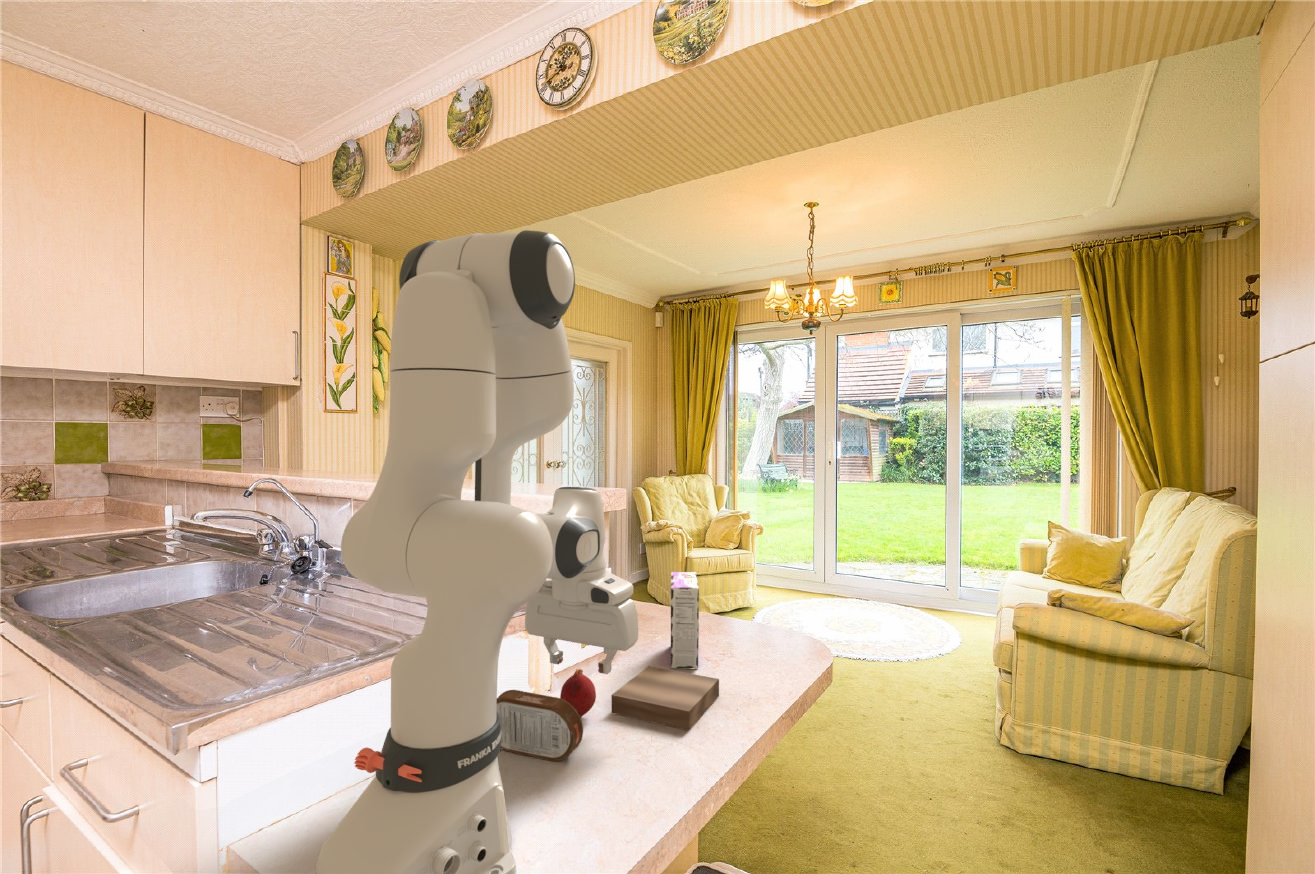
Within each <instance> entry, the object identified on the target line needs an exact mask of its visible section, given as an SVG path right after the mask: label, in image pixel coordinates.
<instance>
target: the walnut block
mask: <svg viewBox="0 0 1315 874" xmlns="http://www.w3.org/2000/svg"><path fill="white" fill-rule="evenodd" d="M719 696H720V679H719V678H715V677H711V676H707V675H706V676H705V675H700V674H693V673H689V672H684V671H677V670H672V669H667V668H661V667H656V666H651V665H648V666H646V667H645V668H644V669H643V670H642V671H640V672H639V673H638V674H636V675H635V676H633V677H632V678H631V679H630V680H629V681H627V682H626V683H625V684H624V685H622V686H621V687H620V688H618V689H617V690H616V691H615V692H613V693H612V694H611V712H610V713H611V714H615V715H618V716H622V717H623V716H624V717H628V718H632V719H637V720H641V721H646V722H649V723H654V724H659V725H663V726H667V727H670V728H671V727H672V728H676V729H682V730H684V731H690V730H691V729H692V728H693V727H694V725H696V723H697V722H698V721H699V720H700V719H701V718H702V716H703V715H704V714H705V713H706V712H707V711H708V709H709V708H710V707H711V706H712V704H714V702H716V700H717V699H718V698H719Z"/></svg>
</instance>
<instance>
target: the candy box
mask: <svg viewBox="0 0 1315 874" xmlns="http://www.w3.org/2000/svg"><path fill="white" fill-rule="evenodd" d="M697 575H698V574H697V571H683V572H682V571H671V575H670V593H669V595H670V598H669V599H670V600H669V601H670V669H676V668H698V669H699V640H700V639H699V638H700V637H699V635H700V634H699V633H700V631H699V630H700V629H699V628H700V627H699V626H700V623H699V622H700V621H699V620H700V591H699V590H700V587H699V581H698V576H697Z"/></svg>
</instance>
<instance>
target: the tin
mask: <svg viewBox="0 0 1315 874" xmlns="http://www.w3.org/2000/svg"><path fill="white" fill-rule="evenodd" d="M497 712H498V713H499V715H500V726H501V730H502V736H501V750H503V751H505V752H509V753H514V754H518V755H523V756H527V757H532V758H537V759H541V760H545V761H550V762H560V761H563V760H564V759H566V758H568V757H569V756H570V755H571V754H572V753H573V752H574V751H575V750H576V749H577V748H578V747H579V746H580V744H581V742H582V740H583V735H584V726H583V721H582V717H581V718H580V716H579V714H578V712H577V711H576V709H575V708H574V707H573V706H572V705H571V704H570V703H568V702H567V701H565V700H563V699H561V698H560V697H556V696H551V695H544V694H540V693H539V694H538V693H535V692H534V693H533V692H527V691H523V690H519V689H509V690H506V691H504V692H502V693H500V694H499V695H498V696H497Z"/></svg>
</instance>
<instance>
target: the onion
mask: <svg viewBox="0 0 1315 874" xmlns="http://www.w3.org/2000/svg"><path fill="white" fill-rule="evenodd" d="M583 672H584V671H583V669H581V668H576V670H575V671H574V673H573V674H572V675H571V676H570V677H569V678H567V679H566V681H565V682H564V683H563V684H562V686H561V690H560V697H559V698H561V699H563V700H565V701H567V702H568V703H570V704H571V705H572V706H573V707H574V708H575V709H576V711H577V712H578V714H579V716H580V718H581V719H582V717H583V716H585V715H586V714H587V713H588V712H589V711H591V709H592V708H593V707H594V704H595V703H596V698H597V695H596V692H597V691H596V687H595V684H594V682H593V681H592V680H591V679H590V678H589V677H588V676H586V675H585V674H583Z"/></svg>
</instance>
